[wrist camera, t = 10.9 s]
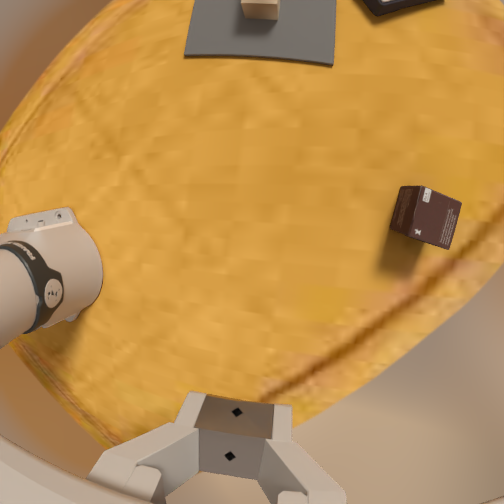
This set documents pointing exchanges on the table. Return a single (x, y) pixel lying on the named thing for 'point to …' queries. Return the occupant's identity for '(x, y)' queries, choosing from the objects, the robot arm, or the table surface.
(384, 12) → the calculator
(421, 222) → the box
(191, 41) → the mat
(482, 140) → the table surface
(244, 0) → the block
